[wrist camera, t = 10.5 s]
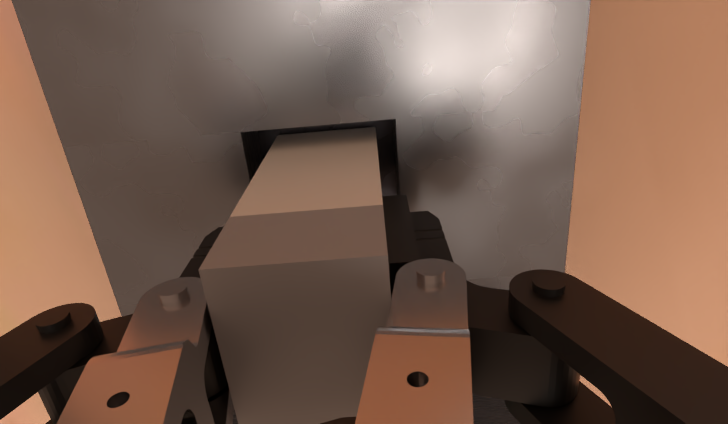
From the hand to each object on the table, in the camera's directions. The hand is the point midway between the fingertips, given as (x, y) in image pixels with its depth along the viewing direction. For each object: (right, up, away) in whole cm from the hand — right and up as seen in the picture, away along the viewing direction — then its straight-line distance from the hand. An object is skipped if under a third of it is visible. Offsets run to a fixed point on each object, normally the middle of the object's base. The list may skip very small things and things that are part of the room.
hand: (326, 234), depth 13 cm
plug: (0, +1, +3) cm, 3 cm away
